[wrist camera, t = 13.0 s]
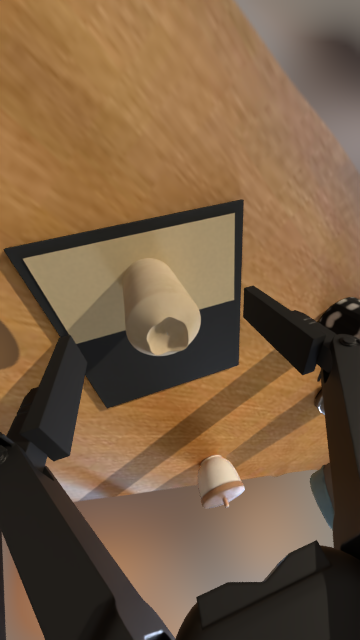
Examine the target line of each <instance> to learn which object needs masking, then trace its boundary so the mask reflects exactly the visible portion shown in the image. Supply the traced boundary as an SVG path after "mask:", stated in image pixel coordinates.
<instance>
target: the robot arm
mask: <svg viewBox="0 0 360 640" xmlns="http://www.w3.org/2000/svg"><path fill="white" fill-rule="evenodd" d="M243 317H244V318H245V319H246V320H247V321H248V322H249V323H250V324H251V325H252V326H253V327H254V328H255V329H256V330H257V331H258V332H259V333H260V334H261V335H262V336H263V337H264V338H265V339H266V340H267V341H268V342H269V343H270V344H271V345H272V346H273V347H274V348H275V349H276V350H277V351H278V352H279V353H280V354H281V355H282V356H283V357H284V358H286V359H287V360H288V361H289V362H290V363H291V364H292V365H293V366H294V367H295V368H296V369H297V370H298V371H299V372H300V373H301V374H302V375H304V374H307V373H310V372H313V371H314V370H315V367H316V364H318V365H319V366H320V367H321V371H320V374H319V376H318V380H317V381H320V379H321V383H322V390H321V391H320V392H319V394H318V395H317V397H316V399H315V406H316V407H317V408H318V410H319V411H320V412H321V413H323V414H324V415H325V421H326V430H327V440H328V449H329V458H330V463H328V464H326V465H323V466H322V467H321V469H319V470H318V471H316V472H315V473H313V474H312V475H311V478H310V485H311V489H312V492H313V495H314V497H315V500H316V502H317V504H318V506H319V508H320V510H321V512H322V514H323V516H324V518H325V520H326V522H327V523H328V525H329V527H330V528H331V529H332V530H333V542H334V548H332V547H327V546H320V545H319V543H318V542H317V540H316V541H314V542H312V543H310V544H308V545H306V546H303V547H302V548H299V549H297V550H295V551H293V552H291V553H289V554H288V555H287V556H286V557H285V558H284V559H283V560H282V561H280V562H279V563H278V564H277V566H276V567H275V568H274V569H273V570H272V571H271V573H270V574H269V575H268V576H267V577H266V578H265V580H264V581H263V582H228V583H226V584H223V585H221V586H219V587H217V588H215V589H213V590H211V591H209V592H207V593H204V594H202V595H200V596H198V597H197V603H196V604H195V605H194V606H193V607H192V609H191V610H190V612H189V613H188V614H187V616H186V617H185V619H184V622H183V623H182V625H181V627H180V629H179V632H178V634H177V636H176V639H175V638H174V636H173V635H172V634H171V632H170V631H169V630H168V628H167V627H166V625H165V624H164V623H163V621H162V620H161V619H160V617H159V616H158V615H157V613H156V612H155V611H154V610H153V609H152V608H151V607H150V606H149V605H148V604H147V603H146V602H145V601H144V600H143V599H142V598H141V596H140V595H139V594H138V592H137V591H136V589H135V588H134V587H133V586H132V584H131V583H130V581H129V580H128V578H127V577H126V576H125V574H124V573H123V572H122V570H121V569H120V567H119V566H118V564H117V563H116V562H115V560H114V559H113V557H112V556H111V555H110V553H109V552H108V550H107V549H106V548H105V546H104V545H103V543H102V542H101V541H100V539H99V538H98V537H97V535H96V534H95V532H94V531H93V530H92V528H91V527H90V525H89V524H88V523H87V521H86V520H85V518H84V517H83V516H82V514H81V513H80V512H79V510H78V509H77V507H76V506H75V504H74V503H73V502H72V500H71V499H70V497H69V496H68V495H67V493H66V492H65V490H64V489H63V488H62V486H61V485H60V484H59V482H58V481H57V479H56V478H55V477H54V475H53V474H52V472H51V471H50V470H49V468H48V467H47V466H45V463H46V459H47V456H48V457H49V458H50V459H51V460H53V461H56V460H59V459H62V458H65V457H67V456H70V452H71V446H72V441H73V436H74V430H75V425H76V420H77V414H78V409H79V404H80V398H81V393H82V388H83V382H84V377H85V372H86V366H87V361H86V360H85V358H84V356H83V355H82V353H81V351H80V350H79V348H78V346H77V345H76V343H75V341H74V340H73V338H72V336H71V335H68V336H64V337H61V338H59V339H58V342H57V344H56V347H55V349H54V351H53V354H52V356H51V359H50V361H49V363H48V366H47V368H46V371H45V373H44V375H43V378H42V380H41V383H40V385H39V387H36V388H33V389H31V390H30V392H29V393H28V394H27V395H26V396H25V397H24V399H23V402H22V404H21V406H20V408H19V410H18V412H17V416H16V417H15V419H14V421H13V423H12V425H11V427H10V429H9V432H8V434H7V436H5V435H4V434H2V433H1V432H0V640H6V632H5V606H4V580H3V556H2V533H3V536H4V538H5V540H6V543H7V546H8V548H9V550H10V553H11V556H12V558H13V560H14V563H15V565H16V568H17V570H18V573H19V575H20V578H21V580H22V583H23V585H24V588H25V590H26V593H27V595H28V598H29V600H30V603H31V605H32V607H33V610H34V613H35V615H36V618H37V620H38V623H39V625H40V628H41V630H42V632H43V635H44V638H45V640H360V339H358V338H357V337H354V336H352V335H347V334H338V335H337V334H335V333H334V332H332V331H331V330H329V329H328V328H326V327H324V326H323V325H321V324H320V323H318V322H316V321H315V320H314V319H312V318H310V317H309V316H307V315H306V314H304V313H301V312H299V311H296V310H294V311H290V310H289V309H287V308H286V307H284V306H283V305H281V304H280V303H278V302H277V301H275V300H274V299H272V298H271V297H269V296H268V295H267V294H265V293H264V292H262V291H261V290H259V289H258V288H256V287H255V286H250V287H246V288H244V310H243Z"/></svg>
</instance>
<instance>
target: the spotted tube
mask: <svg viewBox="0 0 360 640" xmlns="http://www.w3.org/2000/svg"><path fill="white" fill-rule="evenodd" d="M319 323H320V324H321V325H323V326H324V327H326V328H328V329H329V330H331V331H332V332H334V333H335V334H337V335H338V334H347V335H352V336H354V337H357V338H358V339H360V300H359V299H357V298H354V297H349V298H345V299H343V300H340V301H339V302H337V303H335V304H334V305H333V306H331V307H330V308H329V309H328V310H327V311H326V312H325V314H324V315H323V316H322V318H321V319H320V321H319Z"/></svg>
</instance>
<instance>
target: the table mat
mask: <svg viewBox="0 0 360 640" xmlns="http://www.w3.org/2000/svg"><path fill="white" fill-rule="evenodd" d="M243 201H244V200H237V201H232V202H228V203H223V204H218V205H213V206H208V207H203V208H199V209H194V210H189V211H184V212H179V213H174V214H170V215H165V216H160V217H155V218H150V219H145V220H141V221H136V222H131V223H126V224H121V225H116V226H112V227H107V228H102V229H97V230H92V231H87V232H83V233H78V234H73V235H68V236H63V237H58V238H54V239H49V240H44V241H39V242H34V243H29V244H25V245H20V246H15V247H10V248H5V249H4V251H5V253H6V254H7V256H8V257H9V259H10V261H11V262H12V264H13V265H14V267H15V268H16V270H17V271H18V273H19V274H20V276H21V277H22V279H23V280H24V282H25V283H26V285H27V287H28V288H29V290H30V291H31V293H32V294H33V296H34V297H35V299H36V300H37V302H38V303H39V305H40V306H41V308H42V310H43V311H44V313H45V314H46V316H47V317H48V319H49V320H50V322H51V323H52V325H53V326H54V328H55V329H56V331H57V332H58V334H59V336H60V337H64V336H68V335H71V336H72V338H73V340H74V341H75V343H76V345H77V346H78V348H79V350H80V351H81V353H82V355H83V356H84V358H85V360H86V361H87V366H86V372H85V375H86V377H87V378H88V380H89V381H90V383H91V385H92V386H93V388H94V389H95V391H96V392H97V394H98V395H99V397H100V398H101V400H102V401H103V403H104V404H105V406H106V407H107V408H110V407H113V406H116V405H119V404H122V403H125V402H128V401H131V400H134V399H137V398H140V397H143V396H146V395H149V394H152V393H155V392H158V391H161V390H164V389H167V388H170V387H173V386H176V385H180V384H183V383H186V382H189V381H192V380H195V379H198V378H201V377H204V376H207V375H210V374H213V373H216V372H219V371H222V370H225V369H228V368H231V367H234V366H237V365H239V333H240V300H241V267H242V234H243ZM145 258H153V259H157V260H160V261H162V262H163V263H165V264H166V265H167V266H168V267H169V268H170V269H171V270H172V272H173V273H174V274H175V276H176V277H177V279H178V280H179V281H180V283H181V284H182V286H183V287H184V288H185V290H186V291H187V293H188V294H189V295H190V297H191V298H192V300H193V301H194V302H195V304H196V305H197V307H198V309H199V312H200V316H201V324H200V328H199V331H198V333H197V335H196V337H195V338H194V339H193V341H192V342H191V343H190V344H189V345H188V346H187V348H186V349H184V350H182V351H179V352H176V353H174V354H170V355H166V356H152V355H148V354H145V353H142V352H140V351H138V350H137V349H136V348H134V347H133V346H132V344H131V343H130V342H129V340H128V337H127V334H126V326H125V312H124V297H123V278H124V275H125V273H126V271H127V269H128V268H129V267H130V266H131V265H132V264H133V263H134V262H136V261H138V260H141V259H145Z"/></svg>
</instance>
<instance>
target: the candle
mask: <svg viewBox="0 0 360 640" xmlns="http://www.w3.org/2000/svg"><path fill="white" fill-rule="evenodd" d="M123 297H124V312H125V326H126V334H127V337H128V340H129V342H130V343H131V344H132V346H133V347H134V348H136V349H137V350H138V351H140V352H142V353H145V354H148V355H152V356H166V355H170V354H174V353H176V352H179V351H182V350H184V349H186V348H187V346H188V345H189V344H190V343H191V342H192V341H193V339H194V338H195V337H196V335H197V333H198V331H199V328H200V324H201V316H200V312H199V309H198V307H197V305H196V304H195V302H194V301H193V300H192V298H191V297H190V295H189V294H188V293H187V291H186V290H185V288H184V287H183V286H182V284H181V283H180V281H179V280H178V279H177V277H176V276H175V274H174V273H173V272H172V270H171V269H170V268H169V267H168V266H167V265H166V264H165V263H163V262H162V261H160V260H157V259H153V258H145V259H141V260H138V261H136V262H134V263H133V264H132V265H131V266H130V267H129V268H128V269H127V271H126V273H125V275H124V278H123Z"/></svg>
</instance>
